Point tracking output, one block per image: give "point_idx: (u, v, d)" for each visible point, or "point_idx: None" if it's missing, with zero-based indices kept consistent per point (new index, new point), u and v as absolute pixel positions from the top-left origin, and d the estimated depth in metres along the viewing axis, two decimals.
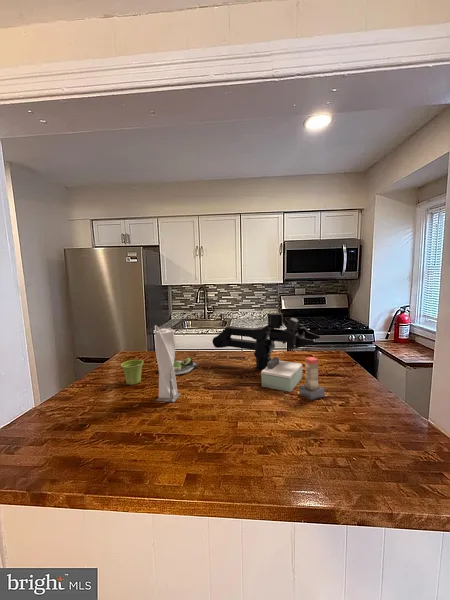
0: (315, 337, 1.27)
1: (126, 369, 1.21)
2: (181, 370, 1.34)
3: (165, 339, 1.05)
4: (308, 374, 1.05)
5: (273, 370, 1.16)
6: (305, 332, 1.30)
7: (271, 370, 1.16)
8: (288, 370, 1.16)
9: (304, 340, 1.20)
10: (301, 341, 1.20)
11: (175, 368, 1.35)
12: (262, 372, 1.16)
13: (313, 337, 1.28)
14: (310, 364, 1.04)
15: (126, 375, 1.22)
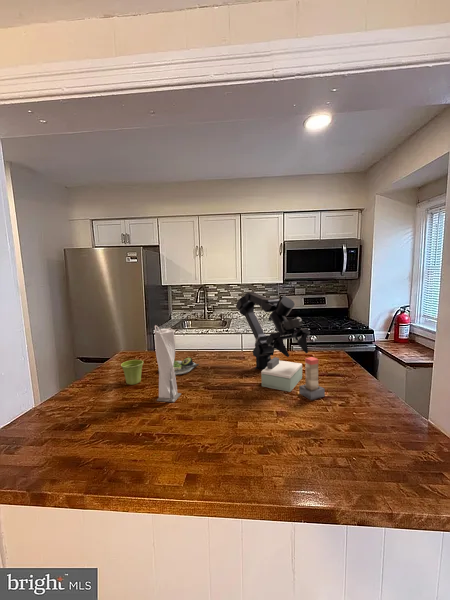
0: (304, 349, 1.16)
1: (126, 369, 1.21)
2: (181, 370, 1.34)
3: (165, 339, 1.05)
4: (308, 374, 1.05)
5: (273, 370, 1.16)
6: (302, 337, 1.17)
7: (271, 370, 1.16)
8: (288, 370, 1.16)
9: (282, 348, 1.12)
10: (280, 346, 1.13)
11: (175, 368, 1.35)
12: (262, 372, 1.16)
13: (303, 347, 1.16)
14: (310, 364, 1.04)
15: (126, 375, 1.22)
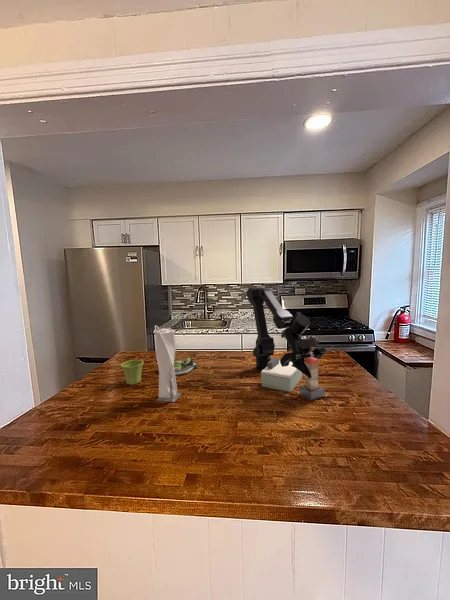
0: None
1: (126, 369, 1.21)
2: (181, 370, 1.34)
3: (165, 339, 1.05)
4: None
5: (273, 370, 1.16)
6: None
7: (271, 370, 1.16)
8: (288, 370, 1.16)
9: (303, 368, 1.05)
10: (301, 366, 1.07)
11: (175, 368, 1.35)
12: (262, 372, 1.16)
13: None
14: (310, 364, 1.04)
15: (126, 375, 1.22)
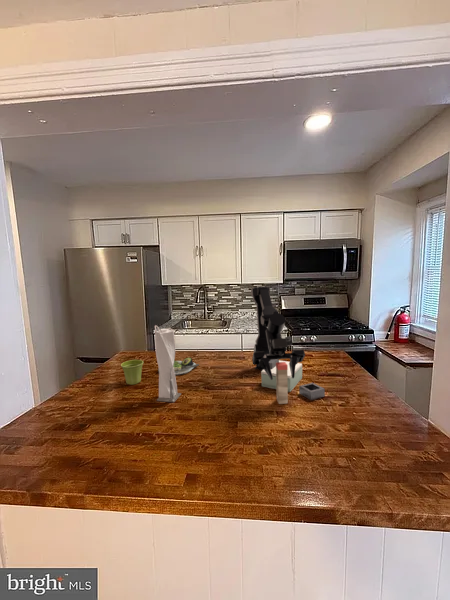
0: (291, 373, 1.02)
1: (126, 369, 1.21)
2: (181, 370, 1.34)
3: (165, 339, 1.05)
4: (277, 379, 1.02)
5: (273, 370, 1.16)
6: (291, 359, 1.04)
7: (271, 370, 1.16)
8: (288, 370, 1.16)
9: (267, 369, 1.02)
10: (266, 366, 1.03)
11: (175, 368, 1.35)
12: (262, 372, 1.16)
13: (291, 371, 1.03)
14: (278, 369, 1.00)
15: (126, 375, 1.22)
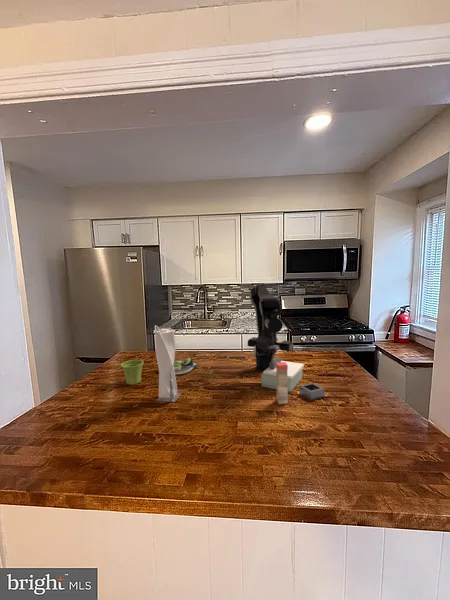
0: None
1: (126, 369, 1.21)
2: (181, 370, 1.34)
3: (165, 339, 1.05)
4: (277, 379, 1.02)
5: (275, 370, 1.16)
6: None
7: (273, 370, 1.16)
8: (290, 370, 1.15)
9: None
10: None
11: (175, 368, 1.35)
12: (264, 372, 1.15)
13: None
14: (278, 369, 1.00)
15: (126, 375, 1.22)
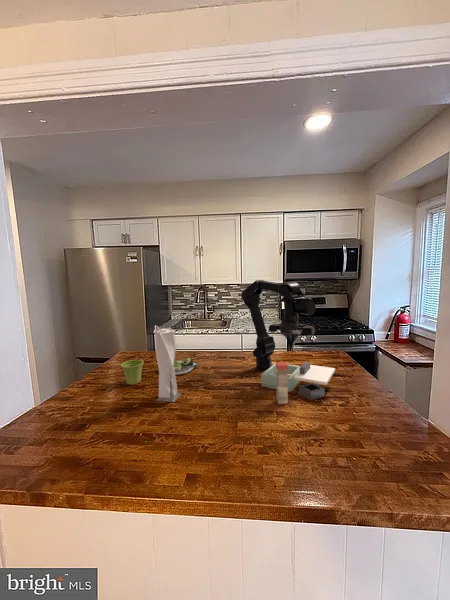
0: None
1: (126, 369, 1.21)
2: (181, 370, 1.34)
3: (165, 339, 1.05)
4: (277, 379, 1.02)
5: (306, 375, 1.09)
6: None
7: (305, 376, 1.09)
8: (322, 375, 1.09)
9: None
10: None
11: (175, 368, 1.35)
12: (295, 378, 1.09)
13: None
14: (277, 369, 1.00)
15: (126, 375, 1.22)
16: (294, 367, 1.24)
